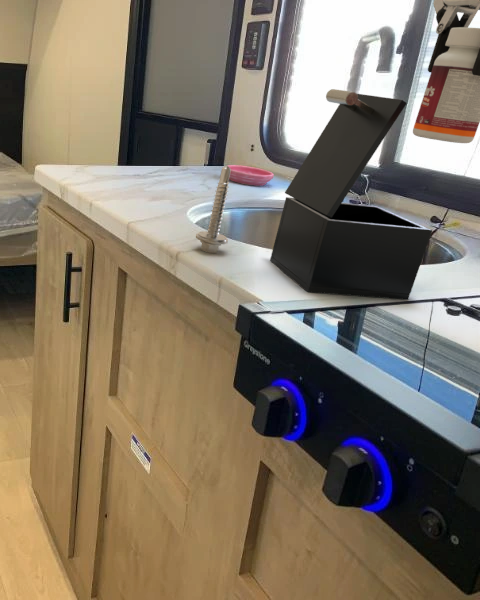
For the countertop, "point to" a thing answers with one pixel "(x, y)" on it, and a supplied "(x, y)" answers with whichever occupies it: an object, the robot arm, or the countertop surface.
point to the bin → (349, 250)
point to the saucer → (249, 175)
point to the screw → (216, 216)
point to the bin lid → (343, 148)
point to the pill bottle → (452, 91)
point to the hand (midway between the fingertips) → (463, 73)
